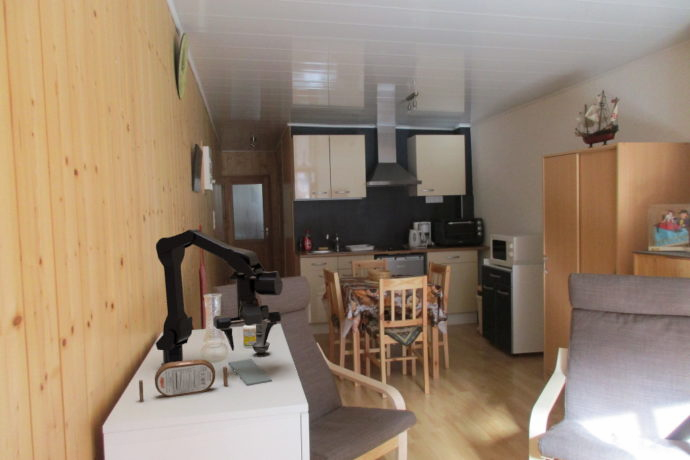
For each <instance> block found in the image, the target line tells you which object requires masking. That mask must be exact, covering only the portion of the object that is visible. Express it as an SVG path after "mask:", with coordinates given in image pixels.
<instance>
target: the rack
mask: <svg viewBox="0 0 690 460" xmlns="http://www.w3.org/2000/svg"><path fill="white" fill-rule="evenodd" d="M222 373H223V374H222V377H223V386H224V387H225V388H226V387H229V383H228V382H229V379H228V367H227V366H223V367H222ZM138 389H139V391H138V392H139V402H140V403H144V400H145V399H144V382H143V379H141V380H140V379H139V380H138Z"/></svg>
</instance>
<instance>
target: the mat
mask: <svg viewBox="0 0 690 460" xmlns="http://www.w3.org/2000/svg"><path fill="white" fill-rule="evenodd" d="M228 365H229V366H230V367H231V369H232V368H233V369H234V370H235V371H234V370H233V369H232V370H233V371H234V372H235V373H236V375H237V374H238V375H239V376H240V377H239V376H238V375H237V376H238V377H239V378H240V379H241V380H243V381H242V382H243V383H244V384H245V386H246V387H247V386H254V385H259V384H260V385H261V384H265V383H269V382H270V383H271V382H273V379H272V378H271V377H270V376H269V375H268V373H266V371H264V370H263V369H262V368H261V367H260V366H259V365H258V364H257V363H256V362H254V360H253V359H252V358H248V359H241V360H236V361H229V362H228Z"/></svg>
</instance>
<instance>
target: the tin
mask: <svg viewBox="0 0 690 460" xmlns="http://www.w3.org/2000/svg"><path fill="white" fill-rule="evenodd" d="M215 381H216V370H215V367H214V365H213V364H212V363H211V361H208V360H207V359H203V358H201V359H200V358H199V359H193V360H191V359H190V360H183V361H179V362H170V363H167V364H164V365H163V366H160V367H159V368H158V369H157V371H156V372H155V376H154V385H155V389H156V390H157V392H159V394H161V395H163V396H164V397H177V396H185V395H192V394H200V393H205V392H206V391H208V390H210V388H212V386H213V385H214V382H215Z"/></svg>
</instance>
